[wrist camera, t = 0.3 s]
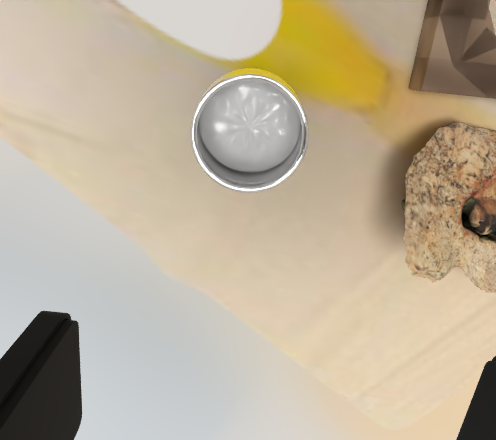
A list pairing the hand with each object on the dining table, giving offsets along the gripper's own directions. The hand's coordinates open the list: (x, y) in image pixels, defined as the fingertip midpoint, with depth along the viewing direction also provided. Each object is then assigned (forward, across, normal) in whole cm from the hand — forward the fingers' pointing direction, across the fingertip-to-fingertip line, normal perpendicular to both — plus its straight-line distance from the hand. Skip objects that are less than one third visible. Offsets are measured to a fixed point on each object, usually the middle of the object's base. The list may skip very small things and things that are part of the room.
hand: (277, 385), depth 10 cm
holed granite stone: (+31, -20, +3) cm, 37 cm away
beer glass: (+31, +1, -3) cm, 31 cm away
